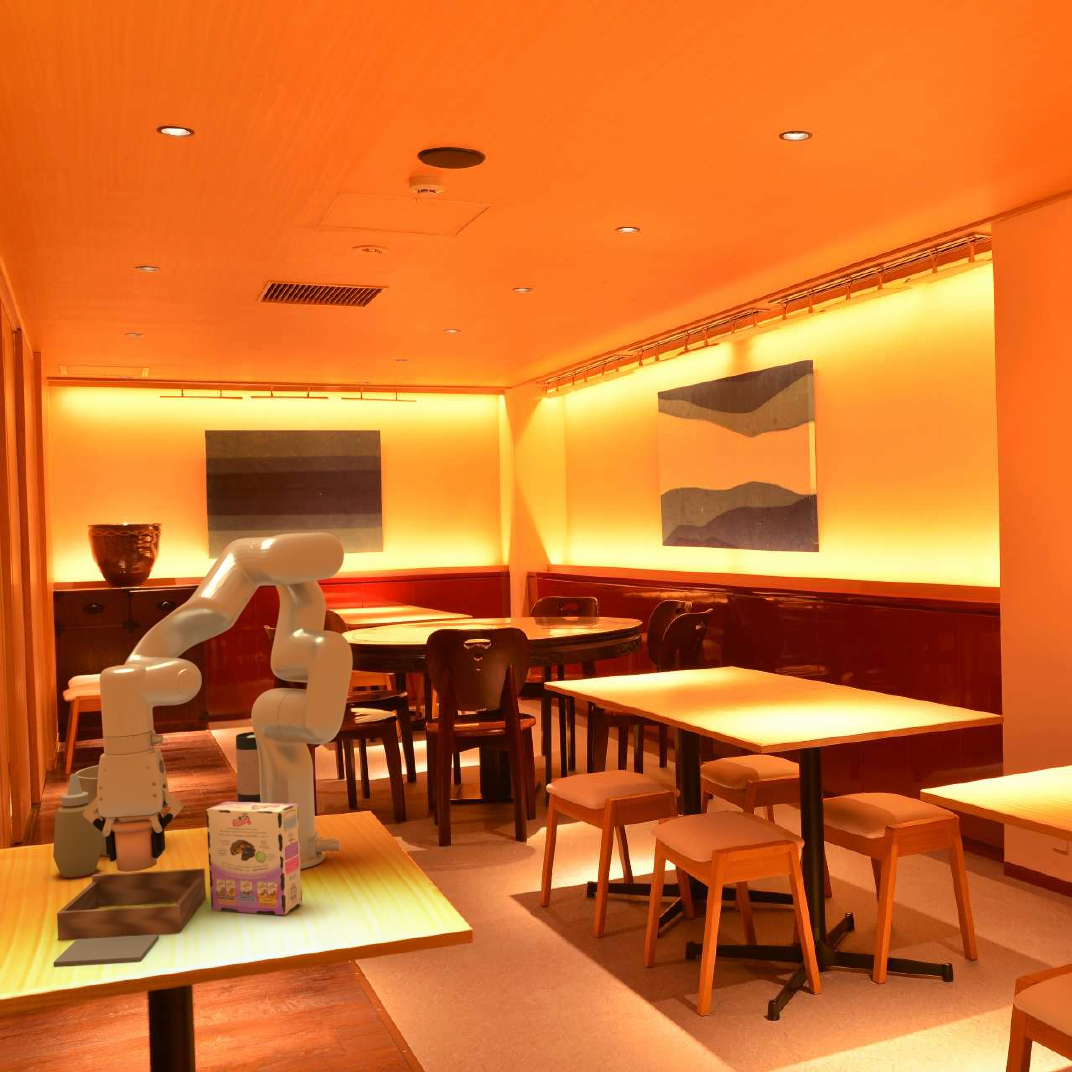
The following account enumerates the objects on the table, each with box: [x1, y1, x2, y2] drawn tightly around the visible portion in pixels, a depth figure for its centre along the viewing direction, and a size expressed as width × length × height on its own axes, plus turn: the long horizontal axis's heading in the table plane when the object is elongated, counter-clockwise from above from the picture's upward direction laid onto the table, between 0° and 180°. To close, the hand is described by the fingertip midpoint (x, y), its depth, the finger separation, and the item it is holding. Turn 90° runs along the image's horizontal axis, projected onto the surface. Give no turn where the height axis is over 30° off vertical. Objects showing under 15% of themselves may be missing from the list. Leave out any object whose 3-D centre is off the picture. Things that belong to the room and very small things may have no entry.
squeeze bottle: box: [52, 773, 101, 879], centre depth 203 cm, size 8×8×18 cm
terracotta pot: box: [111, 816, 158, 873], centre depth 177 cm, size 7×7×7 cm
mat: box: [53, 934, 160, 967], centre depth 162 cm, size 12×9×1 cm
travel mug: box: [235, 731, 261, 803], centre depth 226 cm, size 8×8×20 cm
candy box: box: [205, 800, 303, 916], centre depth 179 cm, size 14×6×16 cm, turn 71°
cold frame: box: [56, 868, 207, 941], centre depth 177 cm, size 18×16×5 cm
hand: (136, 856), depth 177 cm, fingers closed on terracotta pot, 6 cm apart
